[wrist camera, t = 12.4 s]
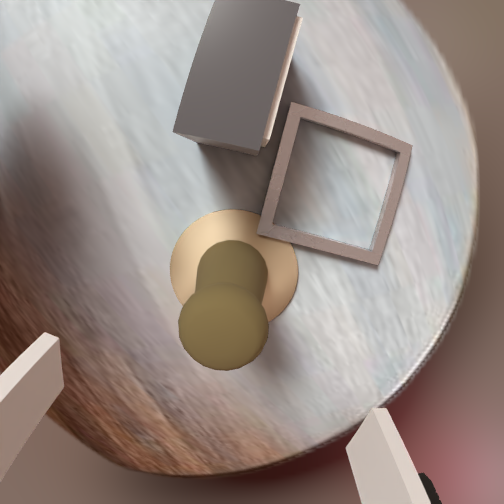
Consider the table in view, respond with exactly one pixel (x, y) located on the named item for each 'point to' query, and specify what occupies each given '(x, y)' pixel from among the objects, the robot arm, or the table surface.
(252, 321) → the pepper shaker
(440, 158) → the table surface
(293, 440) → the table surface
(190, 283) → the tan round coaster
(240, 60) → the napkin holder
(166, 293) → the table surface
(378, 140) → the taupe square frame
